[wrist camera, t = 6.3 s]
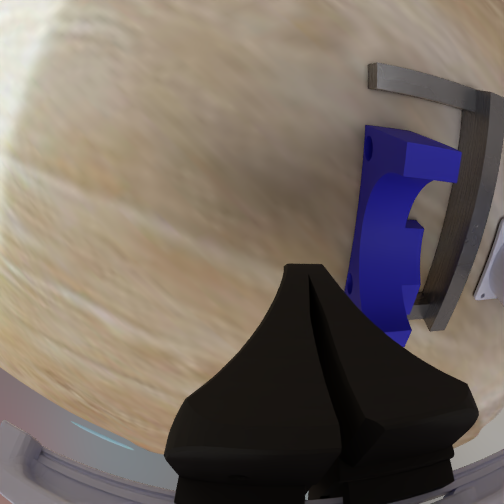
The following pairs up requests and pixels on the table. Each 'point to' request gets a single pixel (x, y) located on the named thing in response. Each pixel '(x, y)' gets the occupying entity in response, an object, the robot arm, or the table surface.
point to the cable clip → (393, 224)
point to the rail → (463, 192)
